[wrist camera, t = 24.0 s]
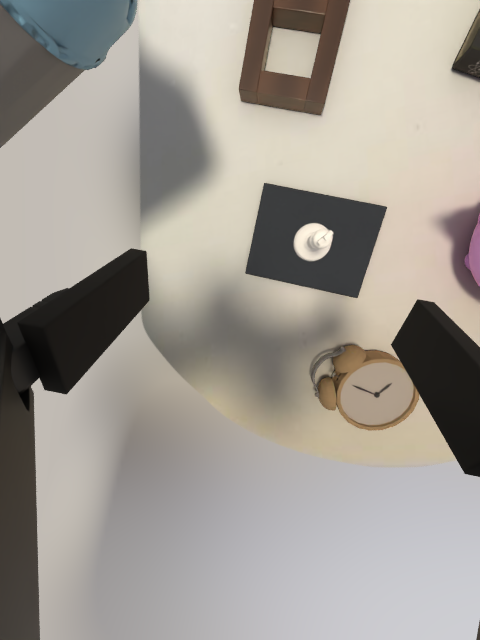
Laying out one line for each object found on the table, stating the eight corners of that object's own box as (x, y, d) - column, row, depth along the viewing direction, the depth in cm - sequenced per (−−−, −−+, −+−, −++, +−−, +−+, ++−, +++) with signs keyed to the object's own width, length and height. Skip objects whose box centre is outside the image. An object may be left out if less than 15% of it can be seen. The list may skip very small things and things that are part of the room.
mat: (245, 273, 38) (245, 273, 37) (264, 184, 35) (264, 182, 34) (355, 297, 37) (357, 298, 36) (384, 207, 34) (387, 206, 33)
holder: (241, 101, 33) (238, 89, 31) (274, -91, 29) (275, -123, 26) (320, 115, 33) (324, 103, 30) (368, -80, 28) (377, -112, 26)
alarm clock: (394, 441, 38) (302, 411, 36) (375, 419, 43) (294, 391, 41) (438, 377, 35) (341, 340, 33) (413, 361, 40) (327, 327, 38)
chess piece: (286, 241, 36) (290, 235, 26) (315, 215, 35) (331, 198, 25) (309, 268, 36) (322, 273, 27) (338, 243, 35) (363, 238, 25)
